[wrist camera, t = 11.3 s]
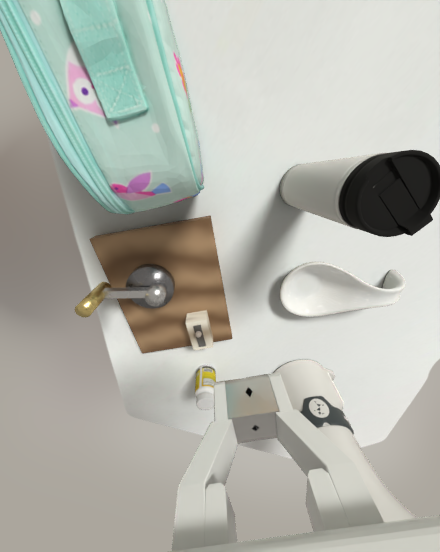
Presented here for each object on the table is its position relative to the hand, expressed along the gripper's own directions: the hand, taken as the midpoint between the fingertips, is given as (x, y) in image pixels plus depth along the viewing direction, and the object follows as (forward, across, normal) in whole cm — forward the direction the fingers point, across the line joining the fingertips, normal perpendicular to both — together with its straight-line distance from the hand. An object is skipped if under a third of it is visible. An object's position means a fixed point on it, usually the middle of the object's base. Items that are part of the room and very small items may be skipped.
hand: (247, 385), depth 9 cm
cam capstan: (+27, +16, +6) cm, 32 cm away
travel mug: (+29, -14, -5) cm, 33 cm away
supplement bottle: (+29, +9, +34) cm, 46 cm away
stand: (+29, +11, +10) cm, 33 cm away
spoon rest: (+30, -21, +14) cm, 39 cm away
